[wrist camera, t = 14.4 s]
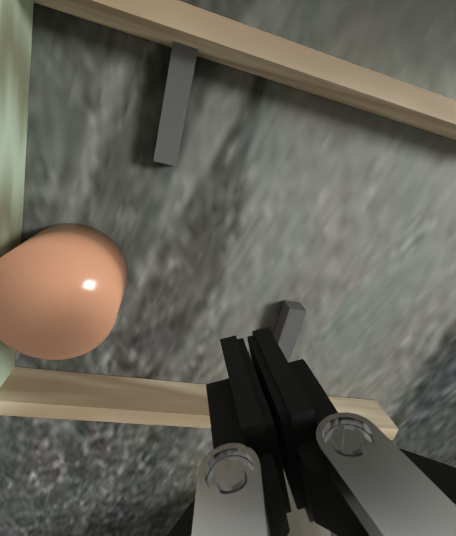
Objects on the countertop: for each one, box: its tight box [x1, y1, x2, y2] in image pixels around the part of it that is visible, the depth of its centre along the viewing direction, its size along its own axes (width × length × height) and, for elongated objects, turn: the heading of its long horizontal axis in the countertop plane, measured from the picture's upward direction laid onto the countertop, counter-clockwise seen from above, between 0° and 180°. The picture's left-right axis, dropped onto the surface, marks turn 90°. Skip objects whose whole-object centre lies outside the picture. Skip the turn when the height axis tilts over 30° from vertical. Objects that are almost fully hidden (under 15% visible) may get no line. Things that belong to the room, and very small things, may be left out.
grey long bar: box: [273, 300, 306, 363], centre depth 23 cm, size 8×1×1 cm, turn 166°
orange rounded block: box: [0, 223, 128, 360], centre depth 18 cm, size 6×6×4 cm
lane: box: [0, 0, 456, 440], centre depth 20 cm, size 22×28×3 cm
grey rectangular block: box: [153, 41, 198, 166], centre depth 17 cm, size 6×1×1 cm, turn 166°
